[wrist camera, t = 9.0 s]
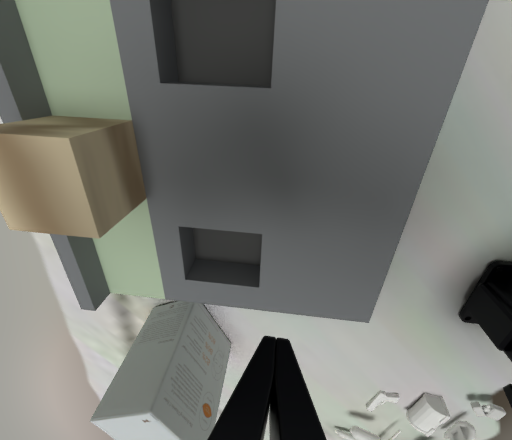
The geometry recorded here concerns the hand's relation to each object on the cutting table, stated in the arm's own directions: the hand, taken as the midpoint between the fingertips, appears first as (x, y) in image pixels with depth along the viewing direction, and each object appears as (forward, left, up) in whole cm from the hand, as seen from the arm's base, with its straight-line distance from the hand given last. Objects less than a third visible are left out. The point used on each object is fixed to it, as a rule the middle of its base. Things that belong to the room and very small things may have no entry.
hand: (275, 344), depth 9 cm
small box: (+8, +16, -13) cm, 22 cm away
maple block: (+12, -3, -10) cm, 15 cm away
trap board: (+3, -3, -13) cm, 13 cm away
